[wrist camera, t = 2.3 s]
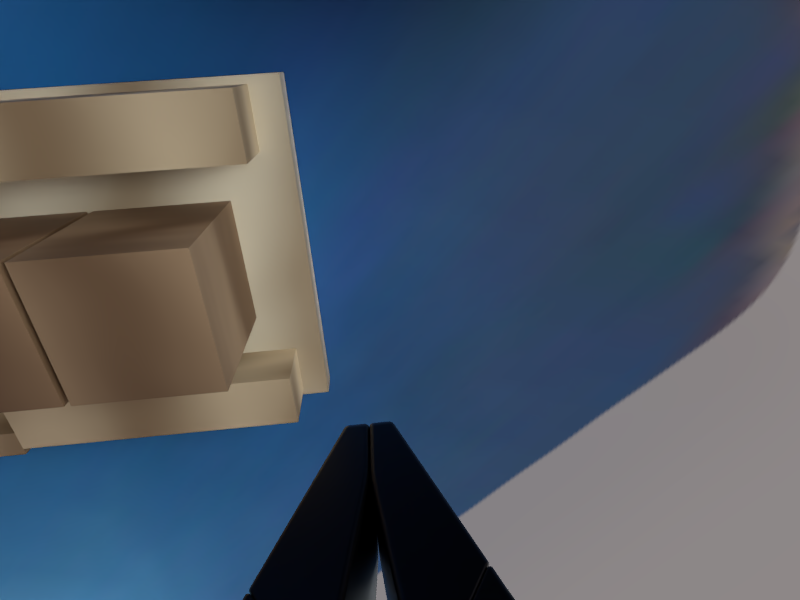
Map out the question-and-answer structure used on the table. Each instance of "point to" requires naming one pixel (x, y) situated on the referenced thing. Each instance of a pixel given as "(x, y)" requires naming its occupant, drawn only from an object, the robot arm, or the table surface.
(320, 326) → the slot board
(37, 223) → the brown wooden cube
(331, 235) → the table surface
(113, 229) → the brown cube
